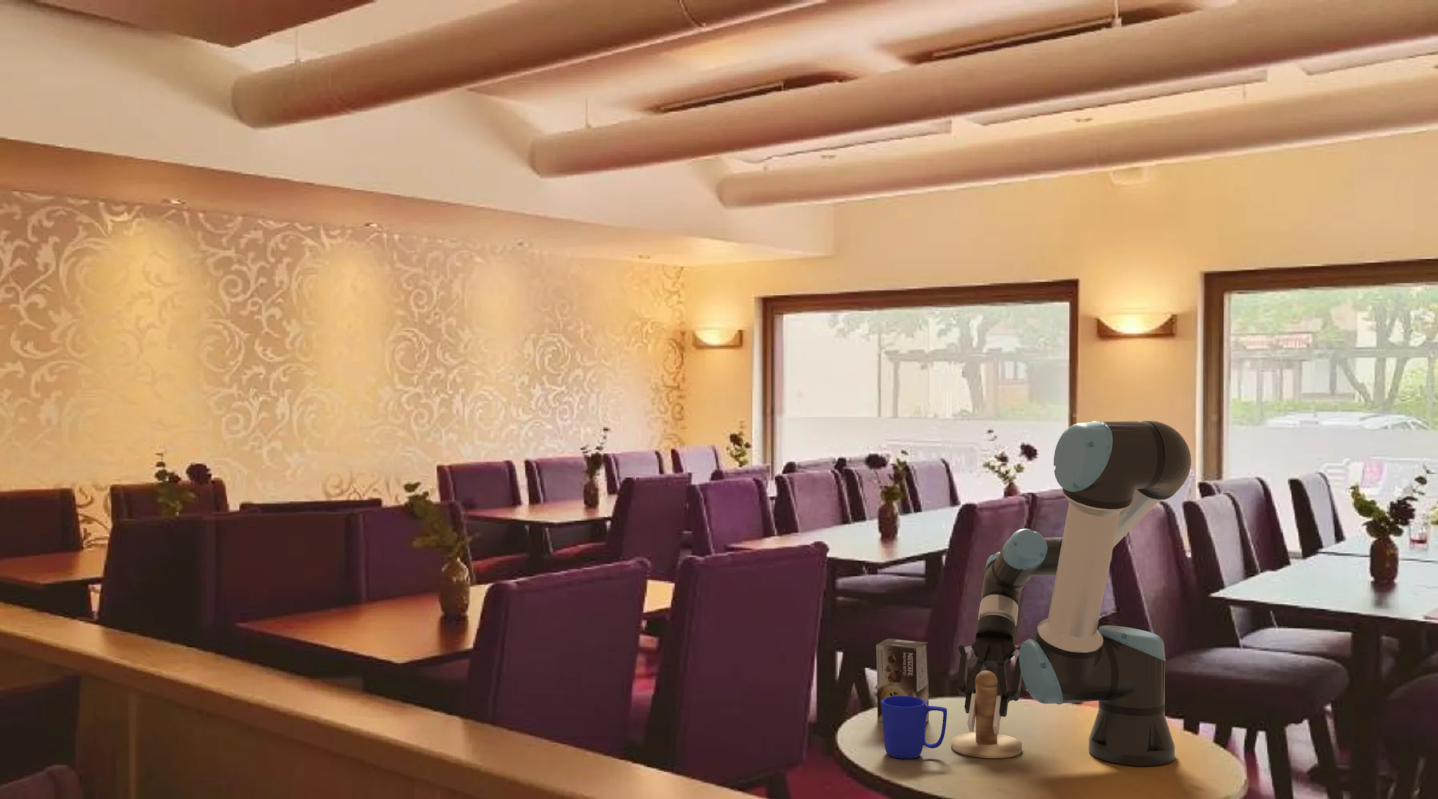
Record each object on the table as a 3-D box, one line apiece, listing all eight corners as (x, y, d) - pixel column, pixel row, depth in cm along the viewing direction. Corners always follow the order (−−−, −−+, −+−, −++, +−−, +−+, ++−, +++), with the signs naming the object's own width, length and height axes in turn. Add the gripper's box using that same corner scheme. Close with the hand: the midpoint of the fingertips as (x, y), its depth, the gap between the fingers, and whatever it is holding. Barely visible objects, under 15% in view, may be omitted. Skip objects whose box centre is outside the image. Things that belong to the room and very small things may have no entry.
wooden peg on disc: (1027, 743, 235) (1027, 666, 235) (1015, 761, 223) (1015, 681, 223) (959, 735, 240) (959, 661, 240) (944, 753, 228) (944, 674, 228)
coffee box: (930, 720, 250) (929, 642, 250) (917, 728, 245) (917, 648, 245) (889, 714, 255) (888, 637, 255) (875, 721, 250) (875, 642, 250)
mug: (946, 764, 222) (946, 709, 222) (879, 760, 225) (879, 706, 224) (947, 750, 230) (947, 697, 230) (882, 747, 233) (882, 694, 232)
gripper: (1042, 637, 242) (1031, 744, 227) (956, 631, 249) (940, 734, 233) (1039, 615, 237) (1027, 723, 222) (951, 610, 244) (934, 714, 228)
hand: (983, 728), depth 228 cm, fingers closed on wooden peg on disc, 4 cm apart
